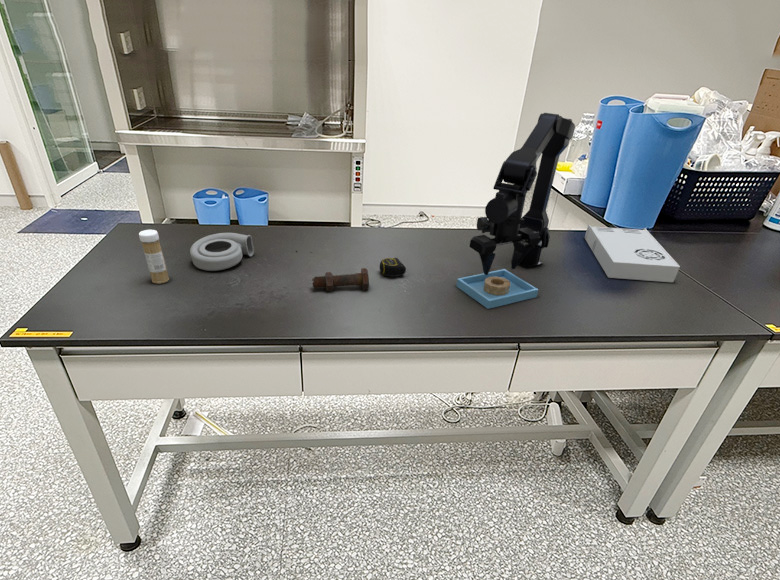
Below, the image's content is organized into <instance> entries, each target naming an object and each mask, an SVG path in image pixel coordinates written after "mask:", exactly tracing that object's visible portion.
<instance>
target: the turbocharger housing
mask: <svg viewBox="0 0 780 580" xmlns="http://www.w3.org/2000/svg"><path fill="white" fill-rule="evenodd" d="M189 253H190V257H191V261H192V264H193V265H194V266H195V267H196V268H197V269H200V270H203V271H208V272H216V271H218V272H219V271H224V270H226V269H231V268H232V267H234V266H237V265H238V264H239V263H240V262H241V261H242V258H243V255H245V256H248V257H253V255H254V254H255V247H254V242H253V237H252V235H250V234H248V235H247V234H242V233H236V232H220V233H219V232H218V233H214V234H209V235H206V236H203V237H202V238H200V239H198V240H196V241H195V242H194V243H193V244H192V245H191V247H190V249H189Z"/></svg>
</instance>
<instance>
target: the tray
mask: <svg viewBox="0 0 780 580" xmlns="http://www.w3.org/2000/svg"><path fill="white" fill-rule="evenodd" d="M495 276H497V277H502V278H505V279H507V280H509V281H510V289H509V293H507V294H505V295H492V294H488V293H487V292H485V291H484V282H485V279H486V278H488V277H495ZM455 287H456V288H458V289H460V290H461V291H462V292H464V294H466V295H468V296H469V297H470V298H472V299H473V300H474V301H476V302H477V303H479V304H480V305H482V306H483V307H485V308H486V309H488V310H489V309H493V308H497V307H502V306H505V305H509V304H513V303H519V302H522V301H527V300H530V299H534V298H537V297H538V293H539V288H537V287H536V286H533V285H532V284H531V283H529V282H527V281H526V280H525V279H523V278H520V277H519V276H518V275H516V274H514V273H512V272H510V271H509V270H507V269H506V268H502V269H497V270H493V271H489V273H488V275H485V274H484V272H483V273H482V272H481V273H478V274H474V275H468V276H464V277H459V278H457V279H456V286H455Z"/></svg>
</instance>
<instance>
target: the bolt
mask: <svg viewBox="0 0 780 580" xmlns="http://www.w3.org/2000/svg"><path fill="white" fill-rule="evenodd" d="M369 277H370V276H369V270H368V269H367V268H366V267H362V268H361V269H360V272H356V273H350V274H349V273H347V274H346V273H345V274H334V275H333V273H332V272H331V271H327V272H325V273H324V275H322V276H320V275H317V276H314V277H312V279H311V281H312V288H314V289H325V290H326V291H327V292H332V291H334V288H339V287H354V286H355V287H361V288H362V291H367V290H368V289H369V288H370V278H369Z"/></svg>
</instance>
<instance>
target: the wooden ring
mask: <svg viewBox="0 0 780 580" xmlns="http://www.w3.org/2000/svg"><path fill="white" fill-rule="evenodd" d="M509 289H510V281H509V280H507V279H505V278H502V277H497V276H495V277H488V278H486V279H485V282H484V291H485V292H487V293H488V294H492V295H505V294H507V293H509Z"/></svg>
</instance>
